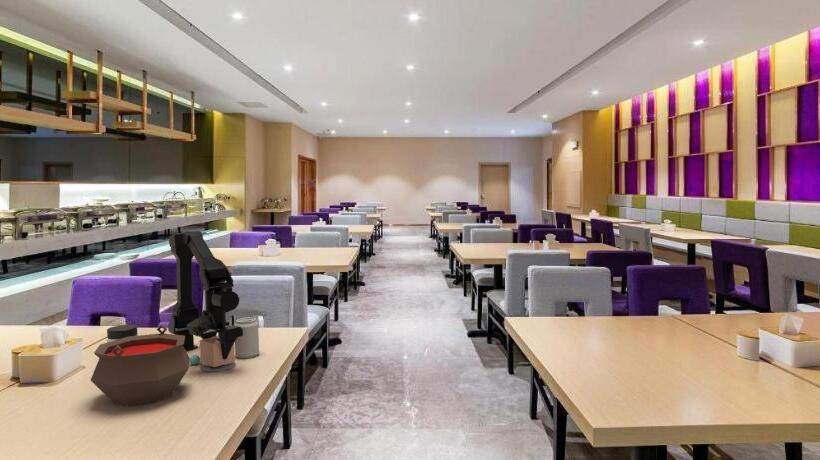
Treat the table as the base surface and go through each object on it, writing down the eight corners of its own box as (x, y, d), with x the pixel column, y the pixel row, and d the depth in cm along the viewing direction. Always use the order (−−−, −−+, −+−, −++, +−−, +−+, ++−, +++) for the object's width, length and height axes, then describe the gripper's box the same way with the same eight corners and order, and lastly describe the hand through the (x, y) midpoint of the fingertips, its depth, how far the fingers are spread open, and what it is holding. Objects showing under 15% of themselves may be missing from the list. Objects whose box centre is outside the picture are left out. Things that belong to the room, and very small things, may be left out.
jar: (137, 368, 161) (135, 329, 160) (106, 372, 158) (104, 332, 157) (140, 360, 169) (139, 323, 168) (111, 363, 166) (109, 325, 165)
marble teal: (188, 364, 163) (187, 355, 163) (196, 362, 166) (196, 352, 166) (193, 366, 162) (193, 356, 161) (202, 364, 164) (202, 354, 164)
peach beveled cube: (200, 363, 161) (199, 340, 160) (221, 357, 166) (220, 335, 166) (214, 367, 156) (213, 343, 156) (234, 361, 162) (233, 338, 162)
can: (252, 359, 168) (250, 322, 167) (230, 358, 169) (229, 321, 168) (263, 352, 175) (262, 316, 174) (242, 351, 177) (241, 316, 176)
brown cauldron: (125, 380, 151) (122, 323, 150) (208, 379, 150) (206, 322, 149) (68, 414, 127) (64, 347, 126) (167, 414, 126) (164, 346, 125)
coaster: (193, 368, 160) (193, 366, 160) (222, 359, 168) (222, 358, 168) (213, 374, 154) (213, 372, 154) (242, 364, 162) (242, 363, 162)
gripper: (173, 307, 159) (175, 358, 160) (209, 314, 148) (211, 369, 149) (206, 301, 168) (208, 349, 169) (243, 307, 157) (245, 359, 158)
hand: (217, 357), depth 161 cm, fingers closed on peach beveled cube, 7 cm apart
